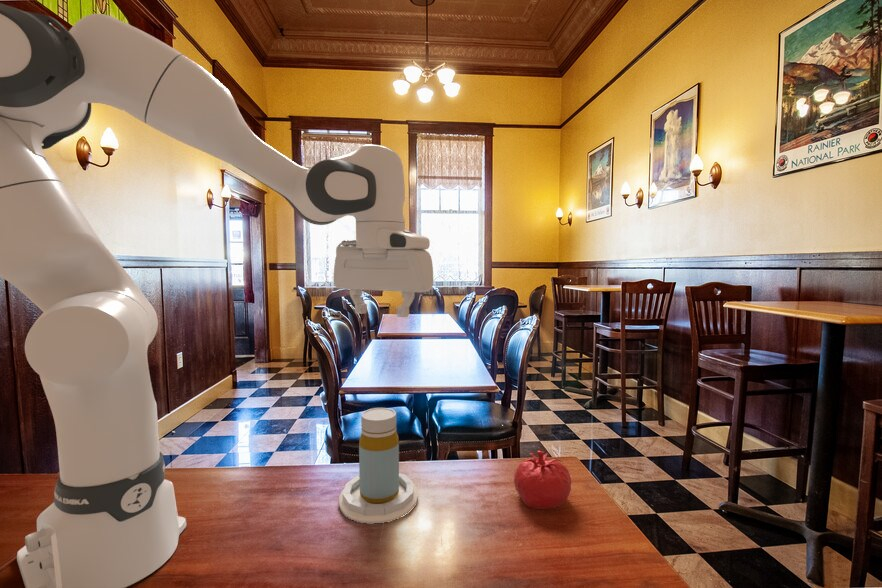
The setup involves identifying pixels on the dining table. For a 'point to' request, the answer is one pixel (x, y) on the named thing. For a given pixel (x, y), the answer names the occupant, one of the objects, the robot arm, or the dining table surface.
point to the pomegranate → (542, 482)
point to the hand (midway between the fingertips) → (381, 315)
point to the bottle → (379, 456)
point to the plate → (377, 513)
